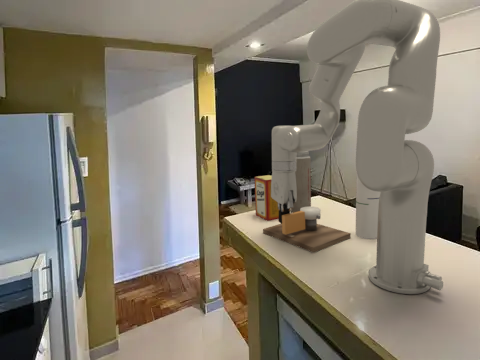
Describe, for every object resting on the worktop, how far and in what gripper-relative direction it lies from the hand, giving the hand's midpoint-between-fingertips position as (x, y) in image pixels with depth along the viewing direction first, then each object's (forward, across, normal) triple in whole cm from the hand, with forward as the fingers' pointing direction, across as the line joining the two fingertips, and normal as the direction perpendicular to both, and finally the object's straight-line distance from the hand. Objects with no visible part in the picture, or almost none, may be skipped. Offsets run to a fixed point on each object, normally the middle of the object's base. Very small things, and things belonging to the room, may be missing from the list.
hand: (284, 222), depth 103 cm
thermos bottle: (+5, -23, +18) cm, 30 cm away
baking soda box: (+6, -22, +3) cm, 23 cm away
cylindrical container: (+4, +10, +24) cm, 27 cm away
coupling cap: (+2, +2, +5) cm, 6 cm away
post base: (+5, +2, +6) cm, 8 cm away
